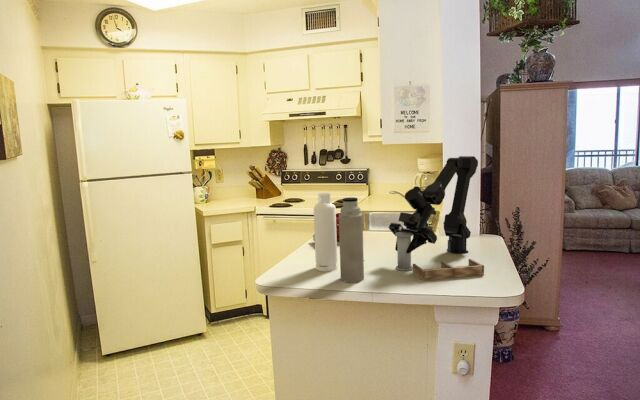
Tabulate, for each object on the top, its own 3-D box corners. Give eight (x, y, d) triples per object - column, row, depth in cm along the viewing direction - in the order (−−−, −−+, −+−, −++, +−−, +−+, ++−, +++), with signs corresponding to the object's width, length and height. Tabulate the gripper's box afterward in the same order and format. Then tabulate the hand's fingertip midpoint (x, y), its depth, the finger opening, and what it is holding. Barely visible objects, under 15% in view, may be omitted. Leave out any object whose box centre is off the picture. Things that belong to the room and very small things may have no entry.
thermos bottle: (344, 274, 157) (341, 196, 153) (366, 276, 154) (364, 196, 150) (337, 281, 149) (335, 199, 145) (360, 283, 147) (358, 199, 143)
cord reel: (409, 265, 164) (408, 231, 163) (415, 270, 159) (415, 234, 157) (393, 266, 163) (393, 232, 162) (399, 271, 158) (398, 236, 156)
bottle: (312, 266, 167) (309, 193, 163) (332, 263, 171) (329, 191, 167) (321, 272, 160) (318, 195, 156) (341, 269, 163) (338, 193, 159)
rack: (470, 267, 160) (470, 258, 159) (483, 274, 151) (484, 265, 150) (412, 272, 156) (412, 263, 155) (422, 280, 147) (422, 270, 147)
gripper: (391, 201, 167) (371, 235, 162) (432, 206, 153) (411, 243, 148) (405, 219, 173) (386, 251, 168) (445, 225, 159) (426, 261, 154)
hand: (401, 251), depth 159 cm, fingers closed on cord reel, 5 cm apart
